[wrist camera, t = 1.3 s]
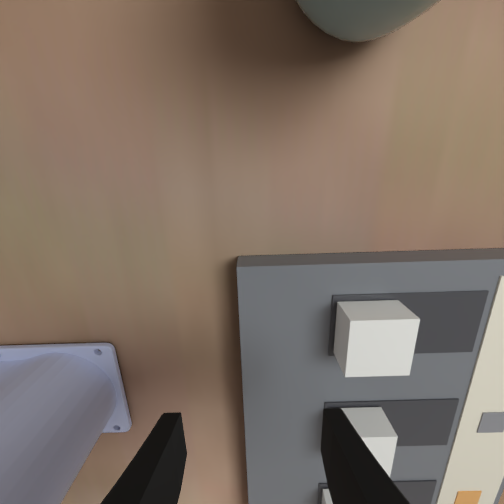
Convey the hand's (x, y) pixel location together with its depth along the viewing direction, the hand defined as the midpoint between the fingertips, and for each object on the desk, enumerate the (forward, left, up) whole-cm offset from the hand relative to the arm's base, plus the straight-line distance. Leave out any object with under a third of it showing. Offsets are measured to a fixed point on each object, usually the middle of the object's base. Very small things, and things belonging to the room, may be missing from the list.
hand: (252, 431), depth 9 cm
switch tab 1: (+7, 0, -6) cm, 9 cm away
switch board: (+9, -8, -8) cm, 15 cm away
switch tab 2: (+7, -8, -6) cm, 12 cm away
